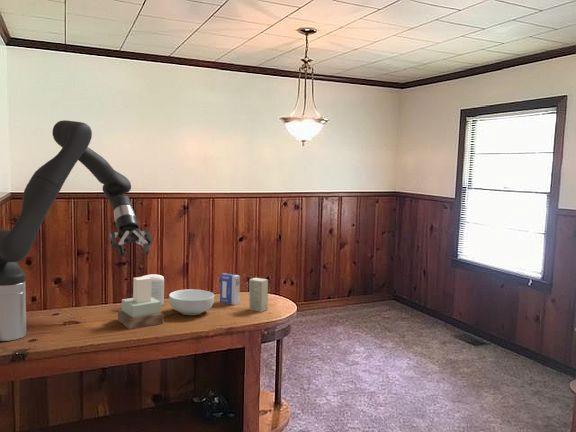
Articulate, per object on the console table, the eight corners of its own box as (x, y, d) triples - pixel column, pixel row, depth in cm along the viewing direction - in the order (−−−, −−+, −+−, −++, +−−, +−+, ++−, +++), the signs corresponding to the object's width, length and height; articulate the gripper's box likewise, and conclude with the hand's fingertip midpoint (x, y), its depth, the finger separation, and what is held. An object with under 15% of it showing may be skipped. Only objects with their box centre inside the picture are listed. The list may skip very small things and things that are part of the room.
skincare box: (267, 309, 192) (268, 279, 191) (261, 312, 188) (262, 281, 187) (254, 306, 195) (255, 277, 194) (248, 309, 192) (249, 278, 190)
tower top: (133, 317, 165) (133, 306, 165) (121, 310, 173) (121, 299, 172) (160, 313, 171) (160, 301, 171) (148, 306, 179) (148, 295, 179)
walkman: (219, 302, 201) (220, 273, 200) (223, 300, 203) (224, 272, 202) (235, 305, 197) (236, 275, 196) (239, 303, 199) (240, 274, 198)
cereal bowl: (198, 321, 174) (198, 302, 174) (159, 315, 180) (159, 296, 180) (222, 309, 190) (222, 292, 189) (185, 304, 196) (185, 286, 195)
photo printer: (161, 302, 197) (162, 272, 196) (165, 305, 193) (165, 274, 192) (136, 305, 191) (136, 274, 190) (139, 308, 188) (139, 276, 186)
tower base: (128, 330, 164) (128, 319, 163) (117, 321, 173) (117, 309, 173) (162, 325, 171) (163, 314, 170) (150, 316, 180) (150, 305, 180)
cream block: (137, 302, 169) (137, 280, 168) (133, 300, 172) (133, 277, 171) (151, 301, 172) (151, 278, 171) (147, 298, 175) (147, 276, 174)
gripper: (108, 213, 177) (117, 249, 169) (146, 213, 186) (157, 247, 177) (104, 226, 182) (112, 262, 174) (142, 225, 190) (151, 259, 182)
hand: (135, 254), depth 176 cm, fingers open, 8 cm apart
